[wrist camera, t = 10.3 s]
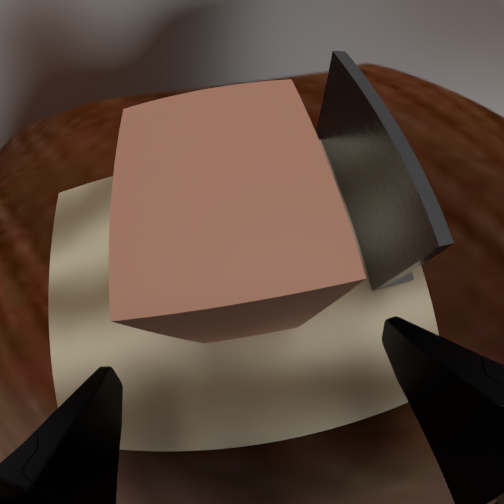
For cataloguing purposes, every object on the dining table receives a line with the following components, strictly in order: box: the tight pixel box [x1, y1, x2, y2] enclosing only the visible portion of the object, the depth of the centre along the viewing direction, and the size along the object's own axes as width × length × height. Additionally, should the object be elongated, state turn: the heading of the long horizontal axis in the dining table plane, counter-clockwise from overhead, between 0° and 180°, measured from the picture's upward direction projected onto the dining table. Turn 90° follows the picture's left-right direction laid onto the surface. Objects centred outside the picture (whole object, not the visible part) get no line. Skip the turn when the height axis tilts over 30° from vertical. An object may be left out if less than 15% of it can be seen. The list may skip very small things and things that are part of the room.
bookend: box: [317, 51, 454, 291], centre depth 14 cm, size 12×3×7 cm, turn 10°
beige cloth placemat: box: [49, 139, 439, 451], centre depth 16 cm, size 18×24×1 cm
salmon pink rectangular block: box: [109, 80, 366, 343], centre depth 11 cm, size 6×5×10 cm
